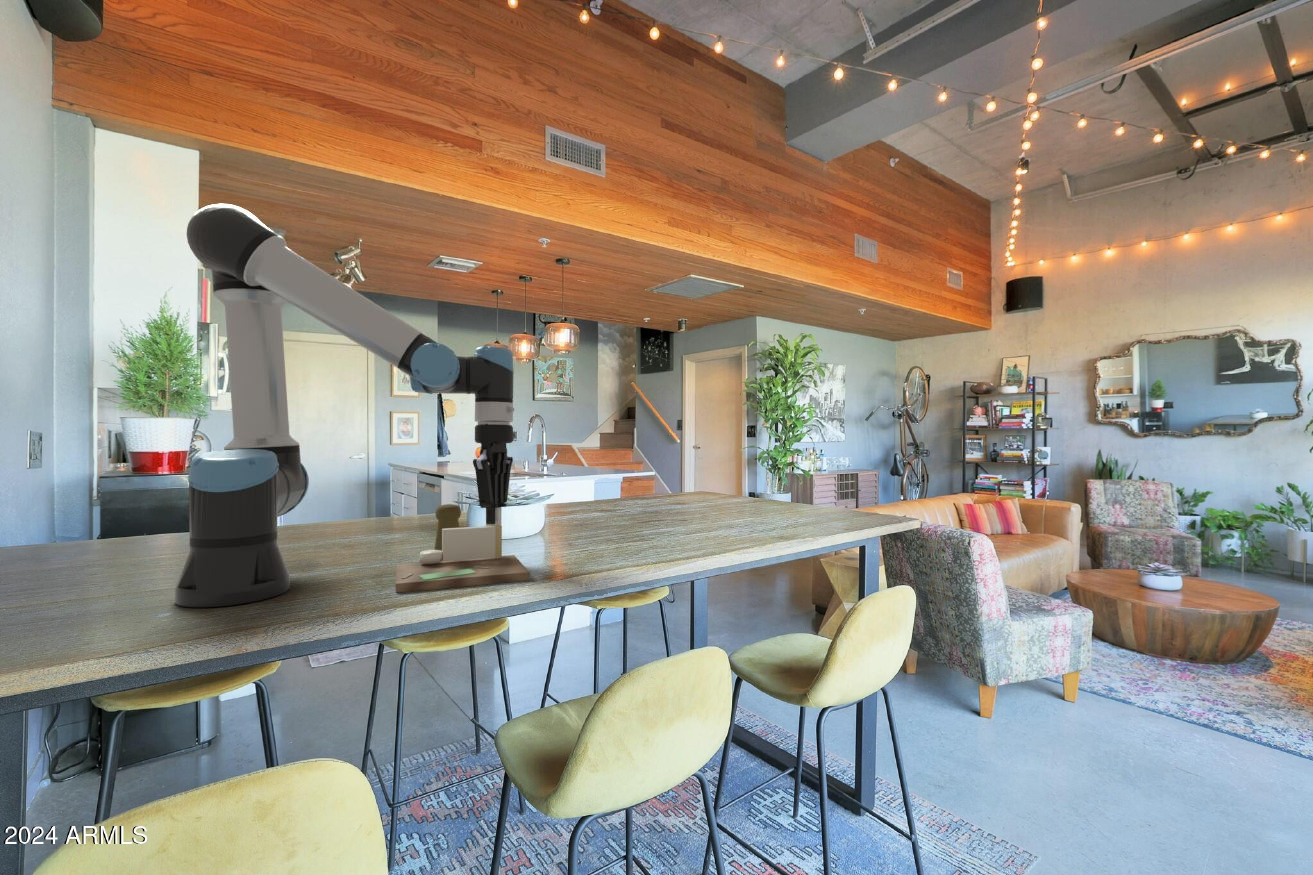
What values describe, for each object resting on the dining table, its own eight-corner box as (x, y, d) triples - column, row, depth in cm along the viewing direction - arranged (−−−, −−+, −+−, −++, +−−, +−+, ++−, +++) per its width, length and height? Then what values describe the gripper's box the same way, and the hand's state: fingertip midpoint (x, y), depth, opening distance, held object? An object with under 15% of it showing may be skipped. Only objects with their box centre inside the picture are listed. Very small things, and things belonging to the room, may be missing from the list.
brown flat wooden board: (395, 592, 97) (395, 582, 97) (396, 571, 112) (397, 563, 112) (529, 580, 106) (529, 571, 106) (514, 562, 121) (514, 554, 121)
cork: (453, 558, 124) (453, 506, 124) (427, 557, 125) (427, 505, 125) (468, 553, 130) (468, 503, 130) (443, 551, 131) (443, 502, 131)
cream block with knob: (420, 564, 109) (420, 531, 109) (419, 560, 113) (419, 528, 113) (502, 557, 115) (502, 526, 115) (499, 554, 119) (499, 524, 119)
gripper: (496, 423, 112) (495, 546, 113) (524, 424, 125) (524, 535, 125) (460, 423, 114) (459, 544, 114) (492, 424, 127) (491, 533, 127)
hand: (493, 539), depth 120 cm, fingers closed
